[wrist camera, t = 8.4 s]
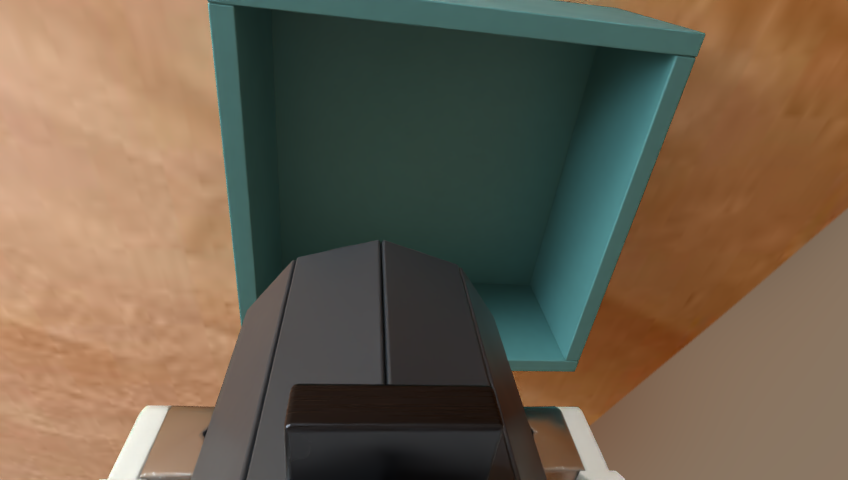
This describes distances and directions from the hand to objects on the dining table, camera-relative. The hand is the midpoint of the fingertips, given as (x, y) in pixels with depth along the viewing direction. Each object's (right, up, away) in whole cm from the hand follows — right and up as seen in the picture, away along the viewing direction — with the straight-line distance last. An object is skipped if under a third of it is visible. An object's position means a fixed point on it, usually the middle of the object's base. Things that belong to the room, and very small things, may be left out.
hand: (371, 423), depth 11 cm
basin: (+1, +8, +15) cm, 17 cm away
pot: (0, +1, +2) cm, 3 cm away
